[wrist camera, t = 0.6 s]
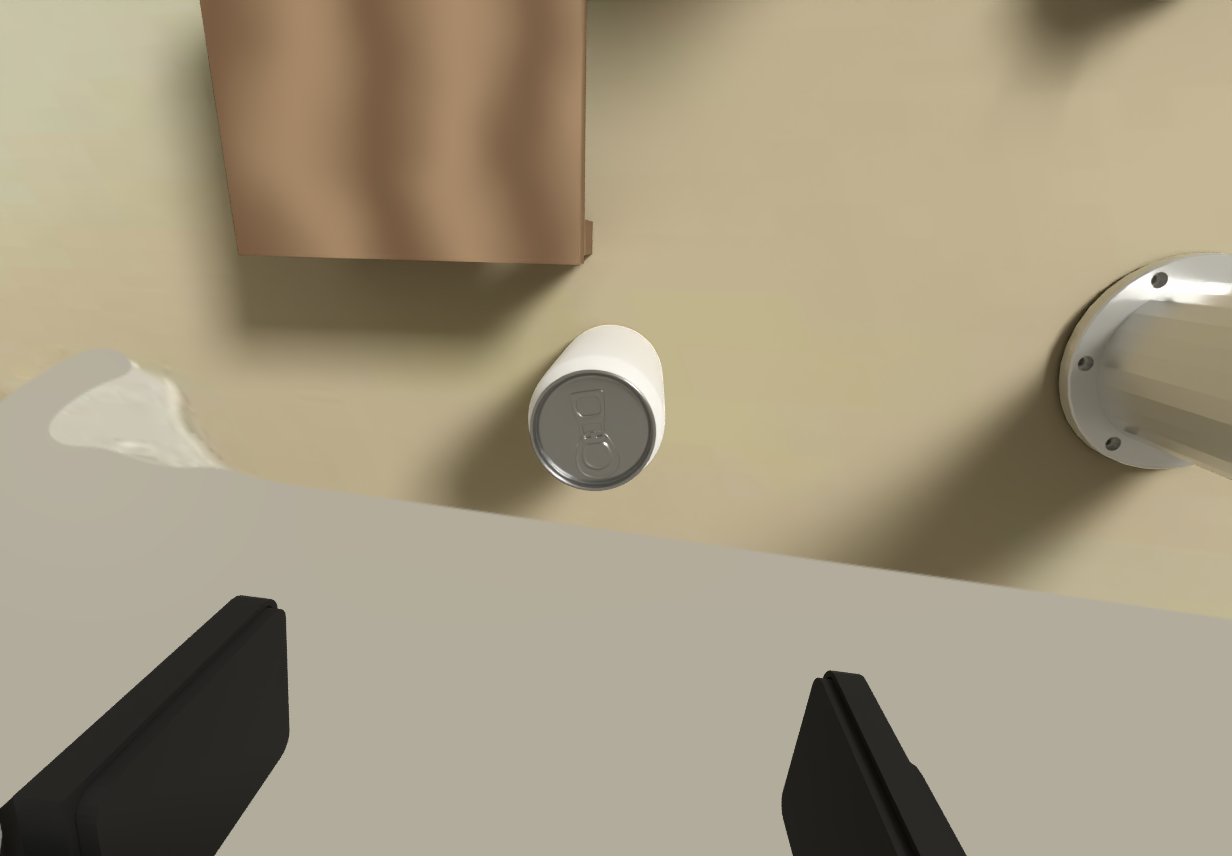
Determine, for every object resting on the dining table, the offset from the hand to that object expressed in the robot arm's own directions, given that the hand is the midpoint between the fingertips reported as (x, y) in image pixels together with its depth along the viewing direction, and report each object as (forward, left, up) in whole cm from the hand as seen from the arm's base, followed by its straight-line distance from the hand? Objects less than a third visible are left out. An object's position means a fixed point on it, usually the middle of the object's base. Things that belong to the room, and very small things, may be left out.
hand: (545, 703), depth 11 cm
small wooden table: (+10, -15, -29) cm, 34 cm away
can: (+1, 0, -29) cm, 29 cm away
